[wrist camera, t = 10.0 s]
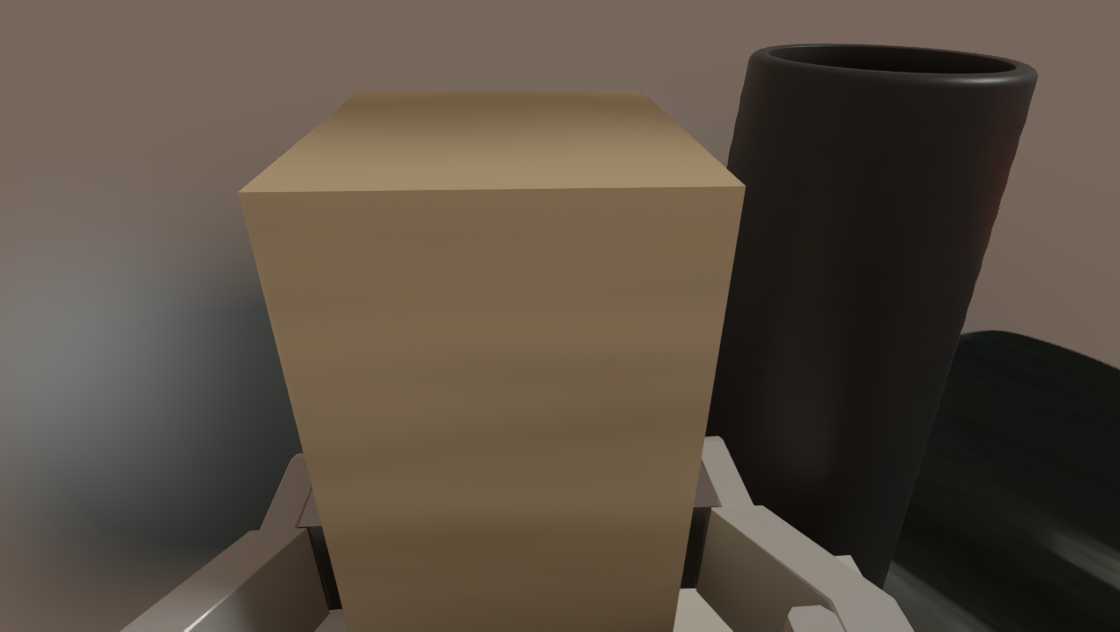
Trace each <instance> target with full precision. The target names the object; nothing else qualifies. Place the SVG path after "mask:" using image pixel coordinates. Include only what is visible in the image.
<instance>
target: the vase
mask: <svg viewBox="0 0 1120 632" xmlns="http://www.w3.org/2000/svg"><path fill="white" fill-rule="evenodd" d="M1037 78H1038V74H1037V72H1036V70H1035V69H1034V68H1032V67H1031V66H1029V65H1027V64H1024V63H1022V62H1019V61H1015V60H1011V59H1007V58H1001V57H996V56H990V55H984V54H977V53H968V52H960V51H951V50H941V49H930V48H918V47H917V48H916V47H904V46H903V47H902V46H886V45H863V44H795V45H781V46H772V47H767V48H764V49H760V50H758V51H756V52H755V53H753V54H752V55H751V57H750V59H749V62H748V67H747V72H746V77H745V82H744V86H743V89H742V93H741V97H740V104H739V111H738V115H737V119H736V123H735V128H734V135H733V140H732V144H731V148H730V152H729V159H728V165H727V170H729V171H730V172H731V173H732V174H733V175H734V176H735V177H736V178H737V179H738V180H740V181H741V182H742V183H743V184H744V185H745V186H746V188H745V194H744V200H743V206H742V213H741V219H740V225H739V231H738V237H737V243H736V249H735V255H734V262H733V268H732V274H731V280H730V286H729V292H728V298H727V304H726V311H725V317H724V323H723V329H722V335H721V341H720V347H719V353H718V360H717V366H716V372H715V378H714V384H713V390H712V396H711V402H710V409H709V415H708V421H707V427H706V433H705V437H712V436H719V437H720V438H721V439H723V441H724V443H725V445H726V447H727V449H728V452H729V454H730V456H731V458H732V460H733V462H734V464H735V466H736V469H737V471H738V473H739V475H740V477H741V479H742V481H743V483H744V486H745V488H746V490H747V492H748V494H749V496H750V498H751V501H752V503H753V505H754V506H761V505H762V506H764V507H765V508H767V509H768V510H770V511H771V512H773V513H774V514H775V515H777V516H778V517H780V518H781V519H782V520H784V521H785V522H787V523H788V524H789V525H791V526H792V527H794V528H795V529H796V530H798V531H799V532H801V533H802V534H803V535H805V536H806V537H808V538H809V539H811V540H812V541H813V542H815V543H816V544H818V545H819V546H820V547H822V548H823V549H825V550H826V551H827V552H829V553H830V554H832V555H833V556H847V555H851V557H852V559H853V561H854V562H855V564H856V566H857V567H858V569H859V571H860V573H861V574H862V576H863V577H864V578H865V579H867V580H868V581H870V582H871V583H872V584H874V585H875V586H877V587H878V588H879V589H881V590H882V589H883V586H884V581H885V579H886V576H887V573H888V570H889V566H890V563H891V560H892V557H893V554H894V550H895V547H896V544H897V541H898V538H899V534H900V531H901V528H902V525H903V522H904V517H905V514H906V512H907V509H908V505H909V501H910V497H911V495H912V492H913V489H914V486H915V481H916V478H917V476H918V473H919V469H920V465H921V461H922V459H923V456H924V453H925V450H926V445H927V441H928V439H929V436H930V433H931V430H932V426H933V422H934V419H935V416H936V414H937V410H938V406H939V402H940V399H941V396H942V394H943V391H944V387H945V383H946V379H947V376H948V374H949V371H950V368H951V364H952V360H953V356H954V353H955V351H956V348H957V345H958V341H959V337H960V333H961V330H962V327H963V325H964V322H965V319H966V314H967V309H968V307H969V304H970V301H971V299H972V295H973V292H974V287H975V283H976V280H977V278H978V275H979V273H980V269H981V266H982V261H983V257H984V254H985V251H986V249H987V246H988V243H989V240H990V235H991V231H992V227H993V225H994V222H995V220H996V217H997V214H998V210H999V205H1000V201H1001V198H1002V195H1003V193H1004V190H1005V187H1006V184H1007V180H1008V176H1009V172H1010V168H1011V166H1012V163H1013V160H1014V158H1015V155H1016V151H1017V147H1018V143H1019V139H1020V136H1021V133H1022V130H1023V127H1024V125H1025V122H1026V118H1027V114H1028V110H1029V105H1030V102H1031V98H1032V95H1033V92H1034V89H1035V86H1036V82H1037Z"/></svg>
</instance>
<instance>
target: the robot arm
mask: <svg viewBox="0 0 1120 632" xmlns="http://www.w3.org/2000/svg"><path fill="white" fill-rule="evenodd" d="M694 588H696V591H697V593H698V594H699V595H700V596H701V597H702V598H703V599H704V600H705V601H706V602H707V603H708V605H709V606H710V607H711V608H712V609H713V610H714V611H715V612H716V613H717V614H718V616H719V617H720V618H721V619H722V620H723V621H724V622H725V623H726V624H727V625H728V626H729V628H730V629H731V630H732V631H733V632H914V630H913V629H912V627H911V626H910V624H909V622H908V621H907V619H906V617H905V616H904V614H903V612H902V611H901V609H900V608H899V606H898V604H897V603H896V601H895V599H894V598H892V597H891V596H889V595H888V594H887V593H885V592H884V591H882V590H881V589H879V588H878V587H877V586H875V585H874V584H872V583H871V582H870V581H868V580H867V579H865V578H864V577H863V576H861V575H860V574H858V573H857V572H856V571H854V570H853V569H851V568H850V567H849V566H847V565H846V564H844V563H843V562H841V561H840V560H839V559H837V558H836V557H834V556H833V555H832V554H830V553H829V552H827V551H826V550H825V549H823V548H822V547H820V546H819V545H818V544H816V543H815V542H813V541H812V540H811V539H809V538H808V537H806V536H805V535H803V534H802V533H801V532H799V531H798V530H796V529H795V528H794V527H792V526H791V525H789V524H788V523H787V522H785V521H784V520H782V519H781V518H780V517H778V516H777V515H775V514H774V513H773V512H771V511H770V510H768V509H767V508H765V507H764V506H762V505H761V506H754V505H753V503H752V501H751V498H750V496H749V494H748V492H747V490H746V488H745V486H744V483H743V481H742V479H741V477H740V475H739V473H738V471H737V469H736V466H735V464H734V462H733V460H732V458H731V456H730V454H729V452H728V449H727V447H726V445H725V443H724V441H723V439H721V438H720V437H719V436H712V437H705V439H704V445H703V451H702V457H701V464H700V470H699V476H698V482H697V488H696V494H695V500H694V506H693V513H692V519H691V525H690V531H689V537H688V543H687V549H686V555H685V562H684V568H683V574H682V580H681V586H680V589H694ZM335 609H343V608H342V604H341V600H340V596H339V592H338V588H337V584H336V580H335V576H334V572H333V568H332V564H331V560H330V556H329V552H328V548H327V544H326V540H325V536H324V532H323V528H322V524H321V520H320V516H319V512H318V508H317V504H316V500H315V496H314V492H313V488H312V484H311V481H310V477H309V473H308V469H307V465H306V461H305V457H304V453H303V454H302V453H298V454H297V455H296V456H294V457H293V458H292V459H291V461H290V463H289V465H288V467H287V470H286V472H285V474H284V477H283V479H282V481H281V483H280V485H279V488H278V490H277V492H276V494H275V497H274V499H273V501H272V504H271V506H270V508H269V510H268V512H267V515H266V517H265V519H264V521H263V524H262V526H261V528H260V530H256V531H249V532H248V533H246V534H245V535H244V536H243V537H241V538H240V539H239V540H237V541H236V542H235V543H234V544H232V545H231V546H230V547H229V548H227V549H226V550H225V551H223V552H222V553H221V554H219V555H218V556H217V557H215V558H214V559H213V560H212V561H210V562H209V563H208V564H206V565H205V566H204V567H203V568H201V569H200V570H199V571H197V572H196V573H195V574H194V575H192V576H191V577H190V578H188V579H187V580H186V581H185V582H183V583H182V584H181V585H179V586H178V587H177V588H176V589H174V590H173V591H172V592H170V593H169V594H168V595H166V596H165V597H164V598H163V599H161V600H160V601H159V602H157V603H156V604H155V605H154V606H152V607H151V608H150V609H148V610H147V611H146V612H145V613H143V614H142V615H141V616H139V617H138V618H137V619H135V621H133V622H132V623H131V624H129V625H128V626H126V627H125V628H124V629H122V630H121V631H120V632H314V631H315V630H316V629H317V628H318V626H319V625H320V624H321V623H322V622H323V621H324V619H325V618H326V617H327V616H328V615H329V610H335Z"/></svg>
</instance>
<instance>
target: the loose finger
mask: <svg viewBox="0 0 1120 632" xmlns="http://www.w3.org/2000/svg"><path fill="white" fill-rule="evenodd" d="M745 188H746V186H745V185H744V184H743V183H742V182H741V181H740V180H738V179H737V178H736V177H735V176H734V175H733V174H732V173H731V172H730V171H729V170H727V169H726V168H725V167H724V166H723V165H722V164H721V163H720V162H719V161H718V160H716V159H715V158H714V157H713V156H712V155H711V154H710V153H709V152H708V151H707V150H706V149H704V148H703V147H702V146H701V145H700V144H699V143H698V142H697V141H696V140H694V139H693V138H692V137H691V136H690V135H689V134H688V133H687V132H686V131H685V130H683V129H682V128H681V127H680V126H679V125H678V124H677V123H676V122H675V121H674V120H673V119H672V118H670V117H669V116H668V115H667V114H666V113H665V112H664V111H663V110H662V109H660V108H659V107H658V106H657V105H656V104H655V103H654V102H653V101H652V100H651V99H650V98H648V97H647V96H646V95H645V94H644V93H643V92H642V91H359V92H358V93H356V94H355V95H354V96H353V97H352V98H350V99H349V100H348V101H347V102H345V103H344V104H343V105H342V106H341V107H340V108H338V109H337V110H336V111H335V112H334V113H333V114H331V115H330V116H329V117H328V118H326V119H325V120H324V121H323V122H322V123H320V124H319V125H318V126H317V127H316V128H314V129H313V130H312V131H311V132H310V133H309V134H308V135H306V136H305V137H304V138H302V139H301V140H300V141H299V142H298V143H297V144H295V145H294V146H293V147H292V148H290V149H289V150H288V151H287V152H286V153H285V154H283V155H282V156H281V157H280V158H279V159H277V160H276V161H275V162H274V163H273V164H271V165H270V166H269V167H268V168H267V169H265V170H264V171H263V172H262V173H261V174H259V175H258V176H257V177H256V178H255V179H253V180H252V181H251V182H250V183H249V184H248V185H246V186H245V187H244V188H243V189H242V190H240V191H239V192H238V194H239V198H240V203H241V206H242V210H243V214H244V218H245V222H246V226H247V230H248V234H249V238H250V242H251V246H252V250H253V254H254V258H255V262H256V266H257V270H258V274H259V278H260V282H261V286H262V290H263V293H264V298H265V301H266V306H267V310H268V314H269V317H270V322H271V325H272V330H273V334H274V337H275V341H276V345H277V349H278V353H279V357H280V361H281V365H282V369H283V373H284V377H285V381H286V385H287V389H288V393H289V397H290V401H291V405H292V409H293V413H294V417H295V421H296V425H297V429H298V433H299V437H300V441H301V445H302V449H303V453H304V457H305V461H306V465H307V469H308V473H309V477H310V481H311V484H312V488H313V492H314V496H315V500H316V504H317V508H318V512H319V516H320V520H321V524H322V528H323V532H324V536H325V540H326V544H327V548H328V552H329V556H330V560H331V564H332V568H333V572H334V576H335V580H336V584H337V588H338V592H339V596H340V600H341V604H342V608H343V612H344V616H345V620H346V624H347V627H348V631H349V632H673V629H674V623H675V617H676V611H677V604H678V598H679V592H680V586H681V580H682V574H683V568H684V562H685V555H686V549H687V543H688V537H689V531H690V525H691V519H692V513H693V506H694V500H695V494H696V488H697V482H698V476H699V470H700V464H701V457H702V451H703V445H704V439H705V433H706V427H707V421H708V415H709V409H710V402H711V396H712V390H713V384H714V378H715V372H716V366H717V360H718V353H719V347H720V341H721V335H722V329H723V323H724V317H725V311H726V304H727V298H728V292H729V286H730V280H731V274H732V268H733V262H734V255H735V249H736V243H737V237H738V231H739V225H740V219H741V213H742V206H743V200H744V194H745Z"/></svg>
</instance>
